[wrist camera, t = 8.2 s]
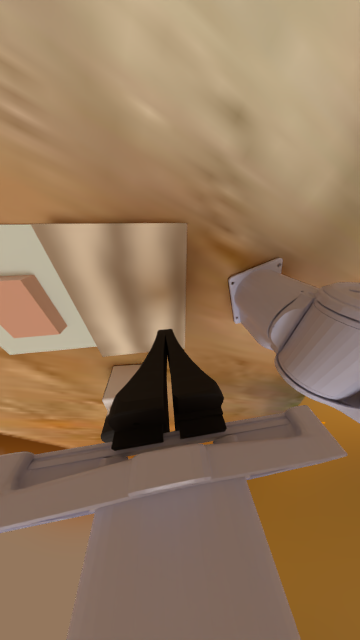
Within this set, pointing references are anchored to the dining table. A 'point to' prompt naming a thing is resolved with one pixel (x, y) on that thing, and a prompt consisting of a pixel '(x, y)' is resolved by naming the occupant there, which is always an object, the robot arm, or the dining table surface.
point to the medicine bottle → (114, 385)
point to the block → (27, 308)
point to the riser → (122, 279)
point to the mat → (31, 259)
